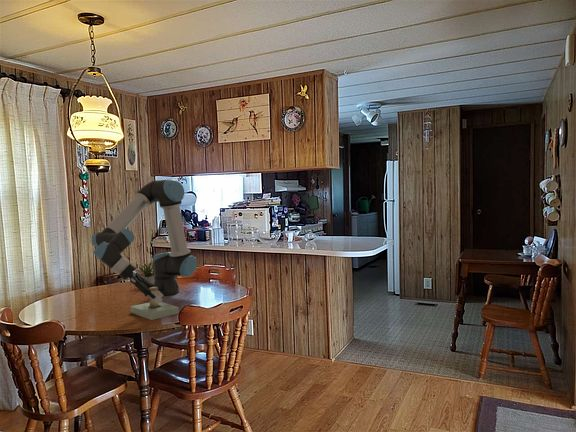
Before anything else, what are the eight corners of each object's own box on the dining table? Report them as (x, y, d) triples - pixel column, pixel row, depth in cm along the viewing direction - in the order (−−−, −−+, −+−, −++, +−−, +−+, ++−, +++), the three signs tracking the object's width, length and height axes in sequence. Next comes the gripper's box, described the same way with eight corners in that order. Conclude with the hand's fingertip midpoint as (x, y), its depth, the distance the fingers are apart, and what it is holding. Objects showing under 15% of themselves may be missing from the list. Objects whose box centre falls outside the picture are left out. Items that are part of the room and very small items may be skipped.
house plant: (159, 282, 285) (158, 257, 284) (165, 285, 273) (164, 259, 272) (136, 285, 278) (135, 259, 277) (141, 288, 266) (140, 261, 265)
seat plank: (130, 312, 211) (130, 306, 211) (157, 306, 221) (157, 300, 221) (151, 320, 197) (150, 313, 197) (178, 313, 207) (178, 307, 207)
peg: (148, 313, 209) (147, 288, 208) (156, 311, 212) (155, 286, 211) (152, 314, 206) (151, 289, 205) (160, 312, 209) (159, 287, 208)
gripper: (121, 271, 216) (156, 300, 220) (114, 279, 194) (153, 311, 198) (132, 259, 216) (167, 289, 221) (126, 266, 195) (165, 298, 199)
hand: (160, 299), depth 210 cm, fingers open, 9 cm apart
